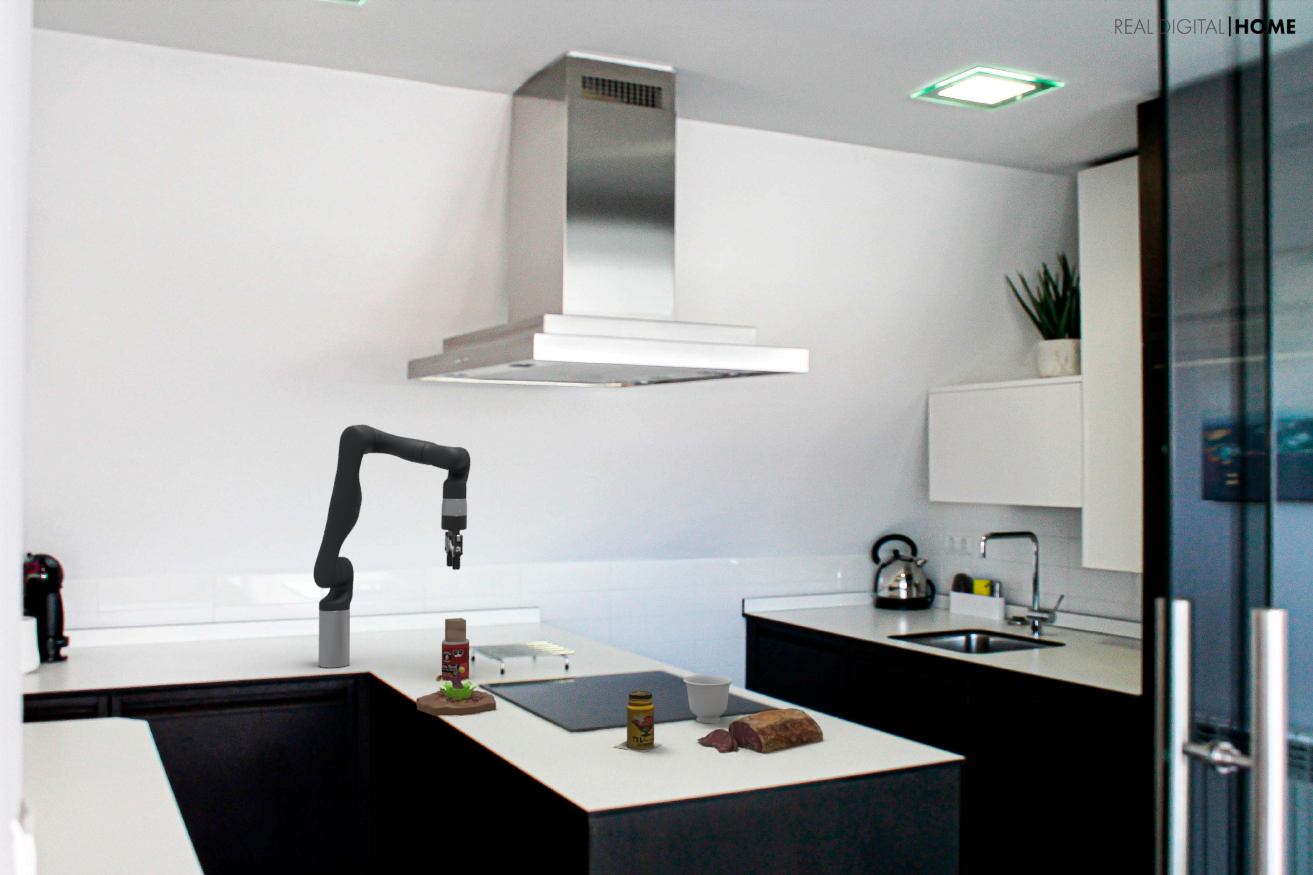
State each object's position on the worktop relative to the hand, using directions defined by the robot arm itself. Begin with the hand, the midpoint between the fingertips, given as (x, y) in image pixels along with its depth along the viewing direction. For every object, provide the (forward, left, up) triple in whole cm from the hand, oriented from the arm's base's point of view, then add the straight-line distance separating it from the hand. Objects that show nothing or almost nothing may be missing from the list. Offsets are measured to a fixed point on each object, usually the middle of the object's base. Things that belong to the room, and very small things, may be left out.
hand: (453, 567), depth 328 cm
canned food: (+8, -1, -31) cm, 32 cm away
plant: (+45, -9, -32) cm, 56 cm away
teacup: (+82, +44, -31) cm, 99 cm away
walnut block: (+8, -1, -20) cm, 22 cm away
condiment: (+99, +19, -31) cm, 106 cm away
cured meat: (+107, +45, -32) cm, 120 cm away
